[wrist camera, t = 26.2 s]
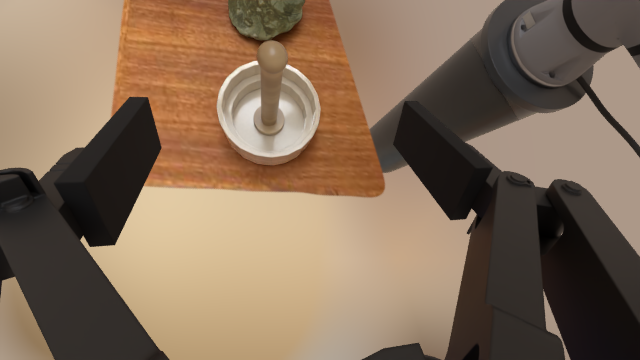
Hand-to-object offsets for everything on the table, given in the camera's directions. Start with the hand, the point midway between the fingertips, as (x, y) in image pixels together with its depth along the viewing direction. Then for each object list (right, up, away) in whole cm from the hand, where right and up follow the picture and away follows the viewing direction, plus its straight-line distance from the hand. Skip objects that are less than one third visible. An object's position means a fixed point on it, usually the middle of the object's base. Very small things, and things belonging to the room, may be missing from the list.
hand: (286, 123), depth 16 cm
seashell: (-7, +23, +31) cm, 39 cm away
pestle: (-6, +6, +27) cm, 29 cm away
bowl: (-6, +6, +28) cm, 29 cm away
